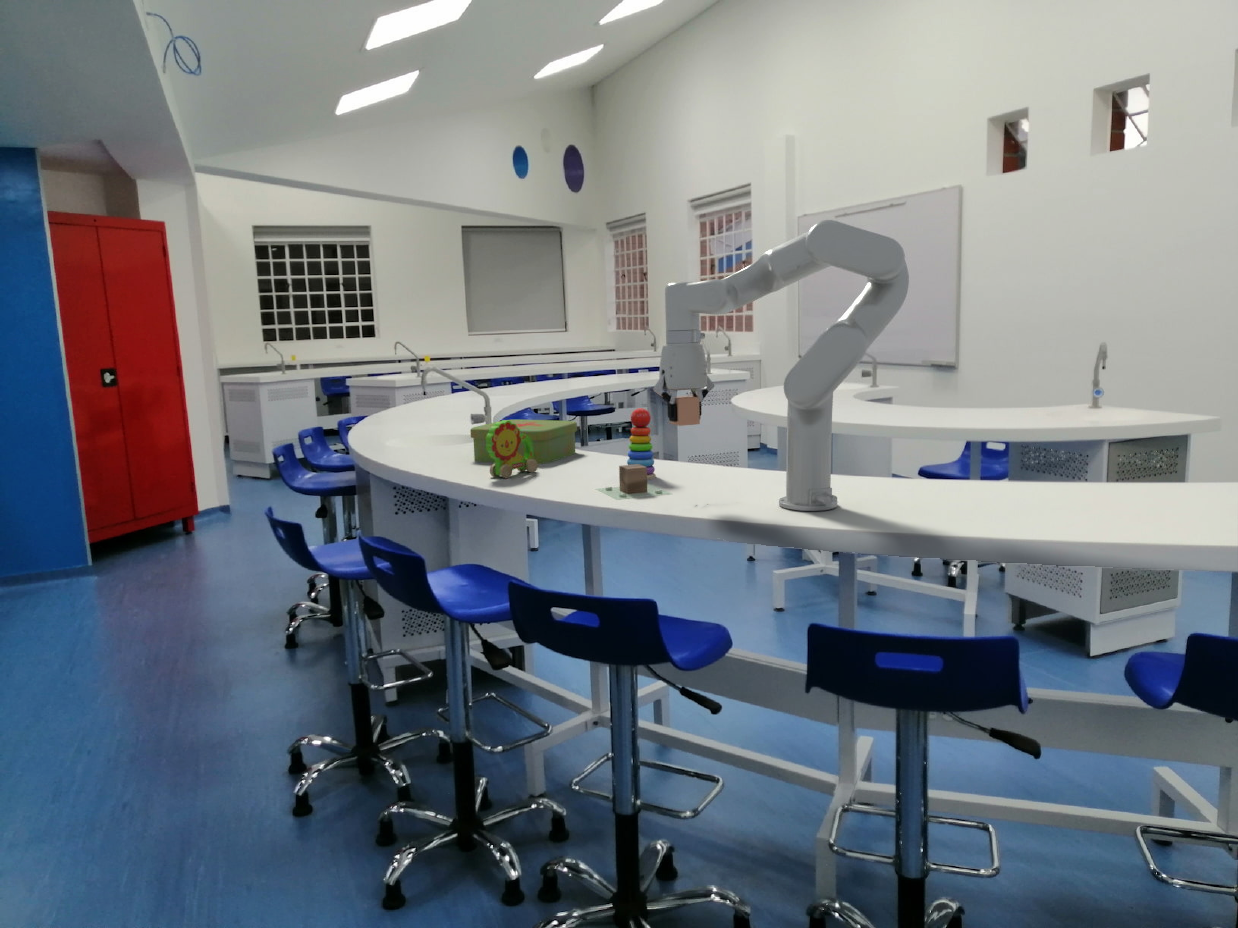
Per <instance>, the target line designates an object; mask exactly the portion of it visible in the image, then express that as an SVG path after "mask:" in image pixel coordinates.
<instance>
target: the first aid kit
mask: <svg viewBox="0 0 1238 928" xmlns="http://www.w3.org/2000/svg"><path fill="white" fill-rule="evenodd" d="M506 420H507V421H511V423H515V424H516V425H517V427H518V428H519V429H520V432H521V434H524V435H526V436H528V437H529V438H530V439H531V441H532V444H533V451H534V460H536V461H537V465H539V464H540V463H542V464H547V463H546V462H548V463H550V462H551V463H552V462H554V461H557V460H560V459H563V458H566V457H569V456H572V455H575V454H576V436H575V435H576V434H575V433H576V432H577V431H578V423H577V421H573V420H552V419H551V420H550V419H549V420H548V419H506ZM501 421H502V420H499V421H498V422H501ZM496 422H497V421H496ZM496 422H491V423H486V424H482V425H477V426H473V427H471V428H470V438H471V439H473V452H474V454H473V455H474V456H473V459H474V461H477V462H492V463H495V459H494V458H491V457H490V455H489V452H488V451H487V450H486V444H487V443H486V436H487V434H488V433H489V429H490V428H491V427H493V426H494V424H495V423H496ZM518 453H519V454H520V455H522V456H523V457H524V455H525V447H524V444H523V442H521V443H520V445H519V447H518ZM565 456H566V457H565ZM556 459H557V460H556Z"/></svg>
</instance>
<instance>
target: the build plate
mask: <svg viewBox="0 0 1238 928" xmlns="http://www.w3.org/2000/svg"><path fill="white" fill-rule="evenodd" d="M595 490H596V491H598V492H600V493H603V494H605V495H607V497H611V498H612V499H614V500H616V501H617V500H626V499H629V500H630V499H637V498H648V497H649V498H650V497H655V496H656V497H658V496H668V495H673V493H671V492H669V491H667V490H664V489H662V488H660V487H658V486H655V485H652V484H649V483H647V492H645V493H635V494H626V493H624V492H622V491H620V486H605V487H602V488H596V489H595Z"/></svg>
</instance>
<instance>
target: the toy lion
mask: <svg viewBox="0 0 1238 928" xmlns="http://www.w3.org/2000/svg"><path fill="white" fill-rule="evenodd" d="M507 420H508V419H505V420H504V419H503V420H500V421H501V422H499V421H496V423H495V422H494V423H495V424H494V426H493V427H491V428H490V429H489V433H488V434H487V436H486V443H487V444H486V450H487V451H488V452H489V455H490V457H491V458H494V459H495V462H494V463H493V464H492V465H490V467H489V473H490V475H491V477H493V478H499V477H500V476H501V478H503V479H509V478H510V477H511V476H512V474H513V471H514V470H517V471H518V472H525V471H526V472H528V473H532V474H533V473H536V472H537V469H538V465H539V464H537V461H536V460H534V451H533V444H532V441H531V439H530V438H529V437H528V436H526V435H524V434H521V432H520V429H519V428H518V427H517V425H516V424H515V423H511V421H507ZM521 442H523V444H524V447H525V455H524V457H523V456H522V455H520V454H519V453H518V447H519V445H520V443H521Z"/></svg>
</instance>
